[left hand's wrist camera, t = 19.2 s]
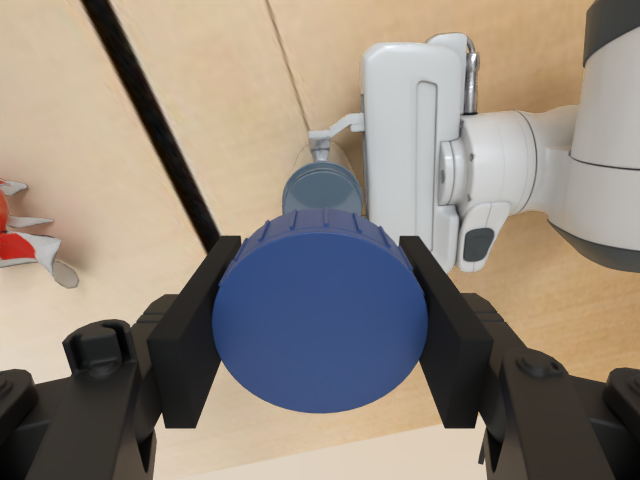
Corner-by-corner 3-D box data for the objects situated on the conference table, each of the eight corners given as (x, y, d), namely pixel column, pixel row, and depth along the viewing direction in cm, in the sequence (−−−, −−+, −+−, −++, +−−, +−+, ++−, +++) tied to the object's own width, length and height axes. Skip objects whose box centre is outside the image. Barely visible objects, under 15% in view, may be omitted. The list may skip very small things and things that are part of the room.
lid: (252, 377, 14) (240, 427, 12) (204, 223, 11) (178, 250, 9) (417, 354, 13) (436, 401, 11) (403, 189, 11) (423, 210, 9)
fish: (21, 132, 31) (-88, 212, 25) (130, 247, 42) (74, 322, 36) (-52, 139, 34) (-162, 211, 28) (67, 243, 46) (6, 311, 40)
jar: (349, 139, 36) (368, 166, 21) (348, 193, 38) (365, 250, 23) (294, 140, 36) (276, 166, 21) (296, 193, 38) (280, 251, 23)
